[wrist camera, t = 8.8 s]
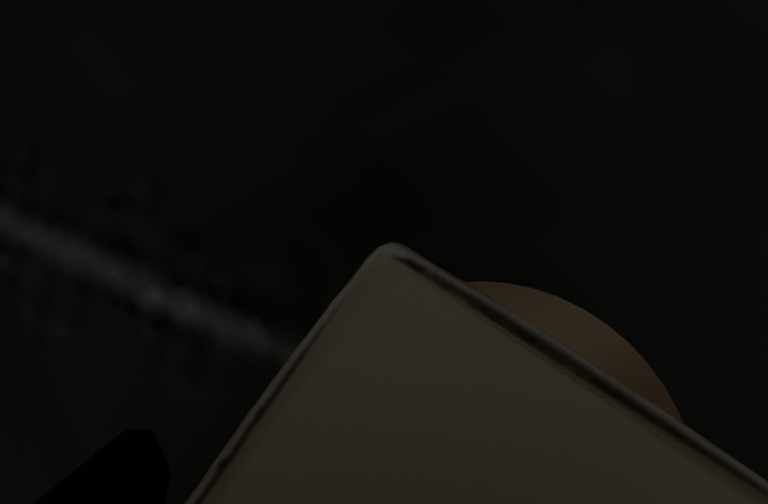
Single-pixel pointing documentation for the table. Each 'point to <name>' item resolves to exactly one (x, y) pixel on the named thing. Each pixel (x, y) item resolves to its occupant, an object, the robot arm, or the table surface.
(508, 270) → the table surface
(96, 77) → the table surface
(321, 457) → the skincare box
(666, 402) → the tan round disc
